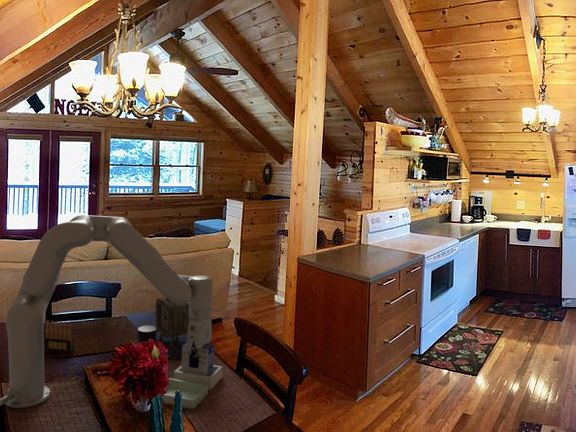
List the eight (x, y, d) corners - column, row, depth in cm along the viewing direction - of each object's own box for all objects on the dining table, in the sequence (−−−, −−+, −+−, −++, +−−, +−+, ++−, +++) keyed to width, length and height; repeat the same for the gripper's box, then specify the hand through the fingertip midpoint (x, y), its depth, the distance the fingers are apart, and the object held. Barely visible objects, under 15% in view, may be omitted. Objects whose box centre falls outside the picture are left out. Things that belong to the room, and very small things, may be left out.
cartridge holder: (210, 389, 161) (211, 378, 160) (173, 382, 164) (173, 371, 164) (222, 377, 170) (222, 366, 169) (187, 370, 173) (187, 360, 173)
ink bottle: (133, 355, 184) (133, 325, 182) (156, 352, 187) (157, 322, 186) (136, 366, 175) (136, 334, 173) (161, 363, 179) (161, 331, 177)
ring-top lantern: (155, 337, 202) (156, 279, 199) (175, 333, 208) (176, 276, 205) (169, 349, 191) (170, 287, 188) (190, 345, 196) (192, 285, 193)
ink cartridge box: (213, 377, 168) (215, 337, 167) (207, 384, 163) (209, 343, 161) (186, 373, 170) (188, 333, 168) (180, 380, 165) (181, 339, 163)
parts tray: (193, 409, 148) (193, 400, 147) (151, 401, 151) (151, 392, 151) (207, 394, 158) (208, 385, 157) (168, 386, 161) (168, 377, 161)
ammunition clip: (44, 350, 184) (43, 320, 183) (47, 348, 186) (46, 318, 184) (70, 353, 183) (70, 322, 181) (73, 351, 185) (73, 321, 183)
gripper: (198, 322, 155) (196, 376, 157) (220, 307, 171) (218, 356, 173) (177, 318, 157) (175, 372, 159) (200, 304, 173) (198, 352, 175)
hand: (197, 363), depth 166 cm, fingers closed on ink cartridge box, 5 cm apart
